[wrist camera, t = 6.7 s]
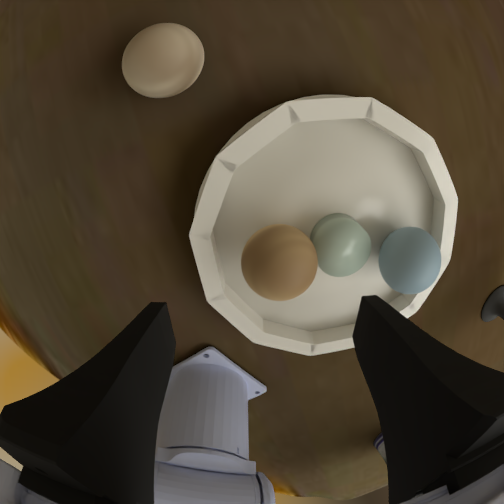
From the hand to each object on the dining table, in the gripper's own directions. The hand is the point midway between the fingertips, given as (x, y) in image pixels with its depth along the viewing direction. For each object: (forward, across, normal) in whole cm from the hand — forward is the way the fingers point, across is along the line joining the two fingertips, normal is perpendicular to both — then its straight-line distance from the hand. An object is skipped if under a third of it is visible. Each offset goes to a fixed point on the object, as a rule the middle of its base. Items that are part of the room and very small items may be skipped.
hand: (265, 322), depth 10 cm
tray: (+10, -5, +1) cm, 11 cm away
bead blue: (+9, -10, +1) cm, 13 cm away
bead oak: (+8, 0, +1) cm, 9 cm away
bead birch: (+10, +5, -11) cm, 15 cm away
